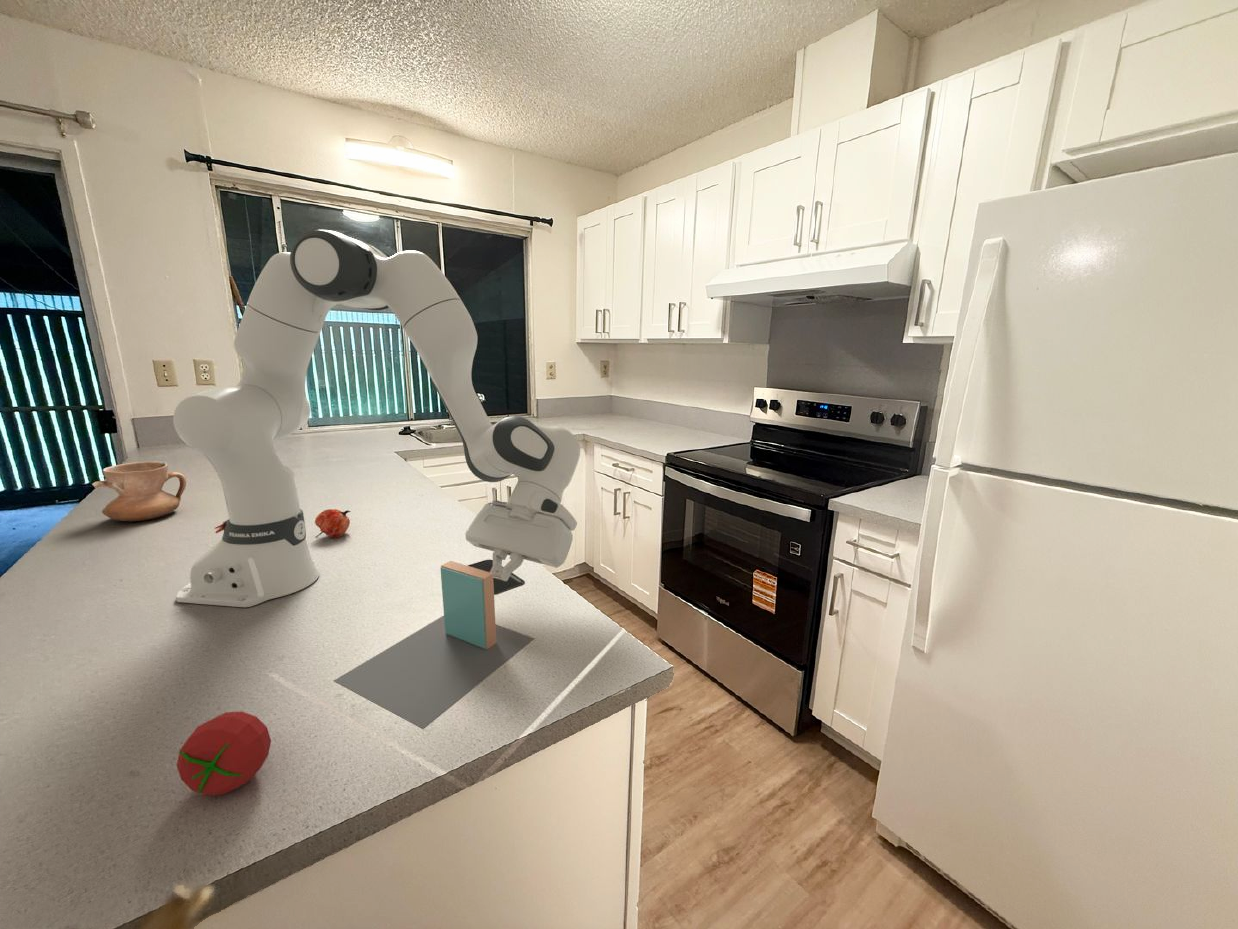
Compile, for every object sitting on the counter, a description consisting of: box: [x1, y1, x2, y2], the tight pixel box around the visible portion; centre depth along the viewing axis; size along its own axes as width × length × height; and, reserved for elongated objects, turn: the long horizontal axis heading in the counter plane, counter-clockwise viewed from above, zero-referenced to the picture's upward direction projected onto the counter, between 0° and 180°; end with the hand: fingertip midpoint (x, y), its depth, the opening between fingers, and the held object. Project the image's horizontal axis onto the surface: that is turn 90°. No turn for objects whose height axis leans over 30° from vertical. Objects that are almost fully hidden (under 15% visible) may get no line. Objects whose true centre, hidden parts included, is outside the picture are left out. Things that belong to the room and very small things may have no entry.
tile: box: [440, 560, 497, 649], centre depth 77 cm, size 2×9×12 cm, turn 62°
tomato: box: [176, 711, 272, 797], centre depth 51 cm, size 8×8×8 cm
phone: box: [466, 559, 526, 596], centre depth 99 cm, size 8×1×15 cm
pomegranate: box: [314, 508, 351, 539], centre depth 119 cm, size 7×7×10 cm
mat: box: [333, 615, 535, 730], centre depth 73 cm, size 22×18×1 cm
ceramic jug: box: [91, 461, 187, 522], centre depth 130 cm, size 18×14×14 cm
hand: (497, 578), depth 82 cm, fingers closed
